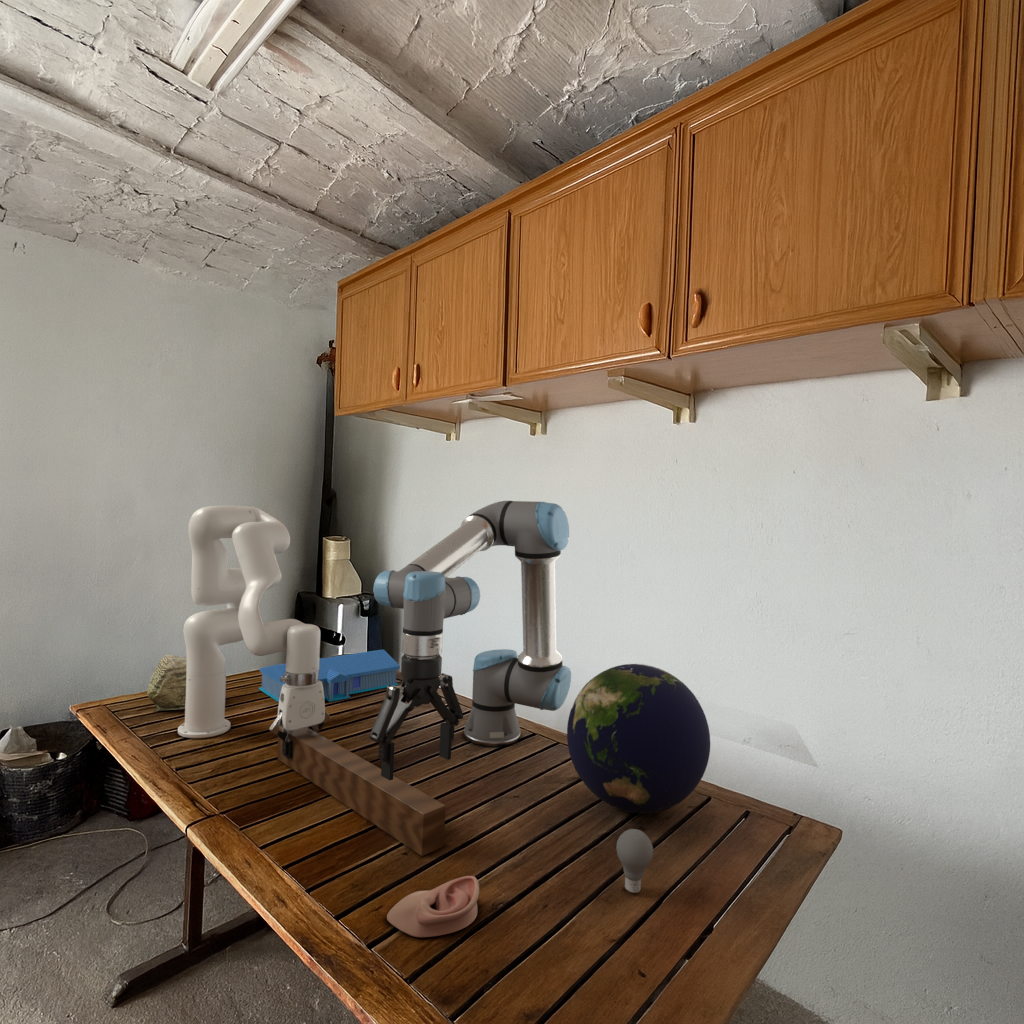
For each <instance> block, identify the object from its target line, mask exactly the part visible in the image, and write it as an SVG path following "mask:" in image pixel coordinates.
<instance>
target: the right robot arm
mask: <svg viewBox="0 0 1024 1024" xmlns="http://www.w3.org/2000/svg"><path fill="white" fill-rule="evenodd" d="M567 516H568V515H567V513H566V512H565V510H564V509H563V508H562V506H561V505H559V504H557V503H553V502H546V501H532V500H531V501H528V500H526V501H525V500H524V501H522V500H501V501H496V502H493V503H491V504H487V505H485V506H484V507H481V508H479V509H477V510H475V511H473V513H471V514H469V515H468V516H467V517H465V518H464V519H462V521H461V524H460V526H459V527H458V528H457V529H455V530H454V531H452V532H451V533H450V534H448V535H447V536H445V537H444V538H443V539H442V540H440V541H439V542H437V543H436V544H434V545H433V546H432V547H430V548H429V549H427V550H426V551H425V552H423V553H422V554H420V556H418V557H416V558H415V559H414V560H413V561H411V562H410V563H408V564H407V565H406V566H404V567H402V568H401V569H400V570H398V571H397V570H393V569H392V570H384V571H383V570H382V571H381V572H380V573H379V574H378V575H377V577H376V578H375V580H374V583H373V597H374V600H375V601H376V602H377V603H378V604H379V605H381V606H385V607H390V608H392V609H402V610H403V620H402V621H403V623H402V625H403V626H402V633H401V637H402V638H401V653H402V654H403V655H402V656H401V661H400V675H401V678H402V681H401V683H400V685H396V686H393V685H388V686H387V687H386V691H385V692H386V693H385V697H384V700H383V703H382V704H381V707H380V709H379V712H378V714H377V717H376V719H375V721H374V724H373V727H372V729H371V731H370V734H369V737H368V738H369V739H370V740H371V741H373V742H375V743H377V744H378V760H380V761H381V762H380V763H381V765H380V769H381V776H383V777H384V778H386V779H388V780H393V776H394V772H395V771H394V770H395V747H396V744H395V742H393V739H394V737H395V736H396V735H397V732H398V731H399V730H400V728H401V727H402V725H403V723H404V721H405V720H406V718H407V717H408V715H409V713H410V712H413V710H414V709H415V708H418V707H421V706H422V705H429V704H431V705H432V707H433V708H434V709H435V711H436V712H437V713H438V715H439V716H440V717H441V719H442V720H443V722H440V724H439V725H440V726H439V748H438V749H439V751H438V756H439V757H441V758H442V759H444V760H447V761H450V760H452V746H453V745H452V744H453V740H454V738H455V727H457V726H458V725H459V724H460V720H462V719H463V718H464V713H463V710H462V707H461V705H460V701H459V699H458V696H457V694H456V692H455V689H454V684H453V679H454V678H453V676H452V675H449V674H446V673H444V672H443V673H442V664H443V657H442V656H441V654H442V653H443V641H444V640H443V639H444V620H445V619H449V618H454V617H457V616H464V615H465V614H467V613H470V612H472V611H474V610H475V609H476V608H477V607H478V606H479V603H480V600H481V590H480V587H479V585H478V584H477V582H476V581H475V580H474V579H473V578H471V577H468V576H459V575H458V576H455V577H450V576H451V574H453V573H454V572H455V571H457V570H458V569H459V568H461V566H463V565H464V564H465V563H466V562H468V561H469V560H470V559H472V558H473V557H474V556H475V555H477V553H479V552H485V551H487V550H489V549H490V548H491V547H496V546H507V547H514V557H515V558H516V559H517V560H518V561H519V562H520V572H521V575H520V576H521V612H522V616H521V617H522V648H523V649H522V651H521V652H520V653H519V655H518V652H517V651H516V650H514V649H509V648H508V649H507V648H506V649H503V648H501V649H500V648H499V649H491V650H485V651H481V652H480V653H477V654H476V656H475V657H474V661H473V669H472V698H471V699H472V701H471V708H470V712H469V715H468V717H467V719H466V722H465V726H464V729H463V730H464V731H463V736H464V738H465V740H466V741H468V742H470V743H472V744H474V745H479V746H484V747H505V746H506V747H507V746H510V745H513V744H515V743H517V742H518V741H519V740H520V739H521V727H520V723H519V720H518V715H517V713H516V705H521V706H525V707H530V708H534V709H539V710H541V711H543V710H545V711H552V712H554V711H558V710H559V709H560V708H561V707H562V706H563V705H564V704H565V701H566V699H567V698H568V695H569V691H570V687H571V683H572V672H571V668H569V667H568V666H567V665H564V664H563V655H562V654H561V653H560V652H559V651H558V650H557V610H556V609H557V607H556V603H557V601H556V560H558V559H559V558H560V557H561V556H562V555H561V554H562V551H563V550H565V549H566V548H567V546H568V543H569V538H570V523H569V519H568V517H567ZM439 688H440V690H441V693H442V696H443V697H444V698H442V697H441V695H440V694H439V692H438V690H439ZM443 699H444V701H445V702H444V701H443ZM406 702H407V703H406ZM445 703H446V704H445Z"/></svg>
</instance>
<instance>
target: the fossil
mask: <svg viewBox="0 0 1024 1024" xmlns="http://www.w3.org/2000/svg"><path fill="white" fill-rule="evenodd" d="M186 667H187V656H183V657H182V656H178V655H175V654H174V655H173V654H165V655H164V656H163V657H162V658H161V659H160V660H159V662H158V663H157V666H156V667H155V669H154V670H153V672H152V675H151V677H150V680H149V684H148V688H147V697H148V699H149V700H150V701H152V703H153V704H154V706H155V711H158V712H159V711H162V712H163V711H177V710H185V701H186Z"/></svg>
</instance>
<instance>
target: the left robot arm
mask: <svg viewBox="0 0 1024 1024" xmlns="http://www.w3.org/2000/svg"><path fill="white" fill-rule="evenodd" d="M187 530H188V531H187V532H188V539H189V545H190V548H191V549H190V550H191V576H190V577H191V578H190V579H191V580H190V587H191V588H190V592H191V594H190V595H191V599H192V601H193V602H194V604H196V605H197V606H201V607H211V606H212V607H213V606H219V605H220V606H221V605H226V608H225V607H224V608H217V609H210V610H203V611H199V612H196V613H193V614H191V615H190V616H188V618H187V619H186V620H185V621H184V624H183V627H182V628H183V630H182V631H183V632H182V633H183V639H184V644H185V645H184V646H185V653H186V654H185V657H187V667H186V701H185V709H184V722H182V724H180V725H179V726H178V727H177V734H178V735H179V736H180V737H182V738H188V739H207V738H212V737H216V736H220V735H222V734H224V733H227V732H228V731H230V729H231V727H232V725H231V723H232V722H231V721H230V720H228V719H226V718H225V715H226V692H227V691H226V689H227V661H226V658H225V655H224V654H223V653H222V651H221V649H220V646H224V645H228V644H229V645H230V644H233V643H237V642H238V643H239V642H241V641H244V644H245V646H246V648H247V650H248V651H249V652H250V654H252V655H254V656H257V657H263V656H264V657H265V656H269V655H273V654H278V653H283V652H286V653H285V663H286V672H285V675H284V676H281V677H280V681H281V682H285V684H283V686H282V689H281V693H280V699H279V702H278V706H277V717H275V719H274V721H273V723H271V725H270V727H269V728H268V730H269V732H271V733H272V734H274V735H276V736H277V738H278V737H279V738H281V739H282V754H283V756H285V757H286V758H288V759H291V758H292V748H293V742H291V737H292V734H293V731H294V730H298V729H302V728H306V727H307V728H309V729H311V730H313V731H314V732H316V733H318V734H320V731H321V730H322V729H323V727H324V725H325V724H326V723H327V722H328V721H329V719H330V718H331V715H330V713H328V712H327V711H326V703H325V701H326V700H325V699H324V691H323V685H322V681H319V659H320V658H321V657H320V655H321V629H320V627H319V626H318V625H315V624H312V623H305V622H302V621H300V620H298V619H296V618H285V619H279V620H278V619H277V620H273V621H267V622H264V621H263V618H262V615H261V611H260V603H261V599H262V597H263V594H264V593H265V592H266V591H268V590H269V589H271V588H273V587H274V586H277V585H278V584H279V583H280V582H281V580H282V578H283V577H282V572H281V568H280V565H279V563H278V559H277V557H276V555H277V554H283V553H285V552H286V551H287V550H288V549H289V547H290V544H291V536H290V535H291V534H290V532H289V529H288V528H287V527H286V525H285V524H284V523H283V522H281V521H280V520H279V519H277V518H275V517H274V516H272V515H270V514H269V513H268V512H265V511H264V510H262V509H260V508H258V507H256V506H249V505H247V506H246V505H244V506H243V505H209V506H203V507H201V508H198V509H197V510H196V511H194V512H193V513H192V515H191V517H190V518H189V521H188V529H187ZM221 539H231V541H232V544H233V548H234V551H235V554H236V557H237V561H238V564H239V567H228V558H229V555H228V551H227V549H226V546H225V544H224V543H223V542H222V541H221ZM281 726H283V730H282V731H280V730H279V727H281Z"/></svg>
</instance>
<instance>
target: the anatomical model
mask: <svg viewBox="0 0 1024 1024" xmlns="http://www.w3.org/2000/svg"><path fill="white" fill-rule="evenodd" d="M479 896H480V884H479V881H478V879H477V878H476V877H475V876H474V875H463V876H461V877H457V878H454V879H451V880H449V881H447V882H445V883H443V884H440V885H438V886H436V887H435V888H433V889H430V890H417V891H415V892H412V893H409V894H408V895H406V896H404V897H402V898H401V899H400V900H399V901H398V902H397V903H395V904H394V905H393V907H391V908H390V910H389V911H388V913H387V914H386V920H387V922H388V923H390V925H392V926H393V927H394V928H396V929H398V930H399V931H401V932H402V933H405V934H406V935H408V936H411V937H415V938H431V937H438V936H443V935H448V934H452V933H456V932H458V931H462V930H463V929H464V928H467V927H468V926H470V925H471V924H472V923H473V922H474V921H475V920H476V918H477V916H478V899H479V898H480V897H479Z"/></svg>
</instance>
